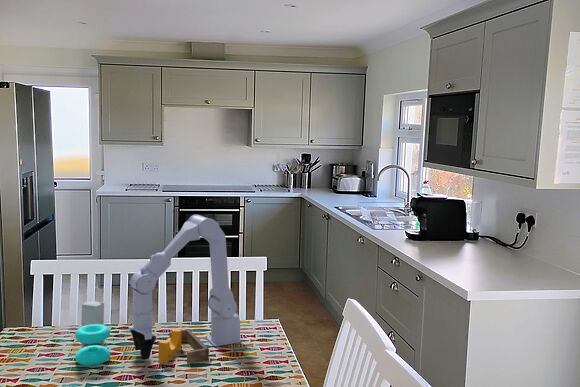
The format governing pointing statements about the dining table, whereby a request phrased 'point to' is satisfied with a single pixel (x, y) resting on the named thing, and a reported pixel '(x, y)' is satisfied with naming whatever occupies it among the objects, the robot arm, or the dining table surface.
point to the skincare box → (92, 313)
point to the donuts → (94, 352)
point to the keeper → (200, 349)
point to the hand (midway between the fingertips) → (142, 354)
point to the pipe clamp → (170, 346)
